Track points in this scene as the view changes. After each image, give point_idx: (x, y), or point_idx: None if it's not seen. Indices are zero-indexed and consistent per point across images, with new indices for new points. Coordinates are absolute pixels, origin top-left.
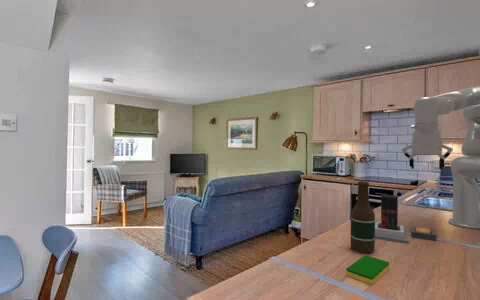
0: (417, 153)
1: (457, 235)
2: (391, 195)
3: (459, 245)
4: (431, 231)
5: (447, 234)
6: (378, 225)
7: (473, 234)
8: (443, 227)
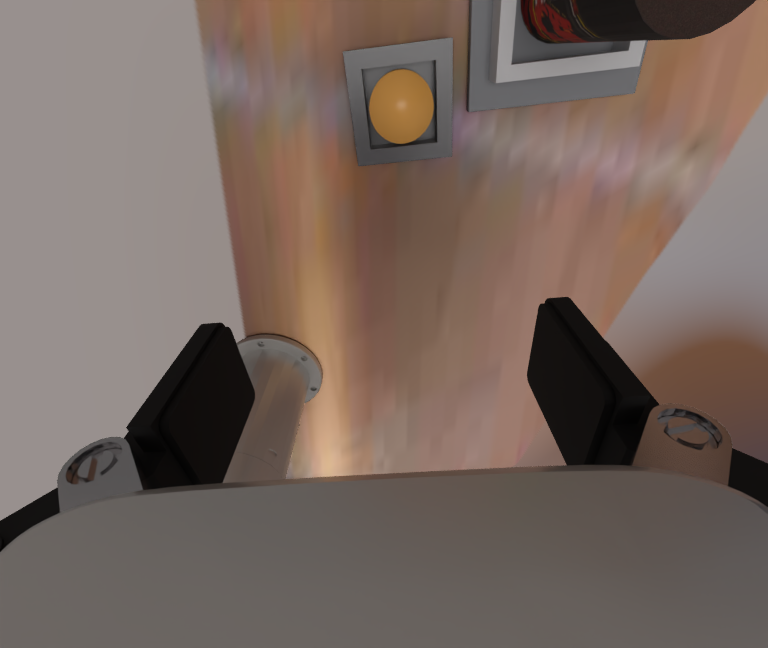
0: (638, 494)
1: (282, 215)
2: (674, 17)
3: (257, 42)
4: (365, 121)
5: (313, 206)
6: (619, 50)
7: (239, 264)
8: (332, 300)
